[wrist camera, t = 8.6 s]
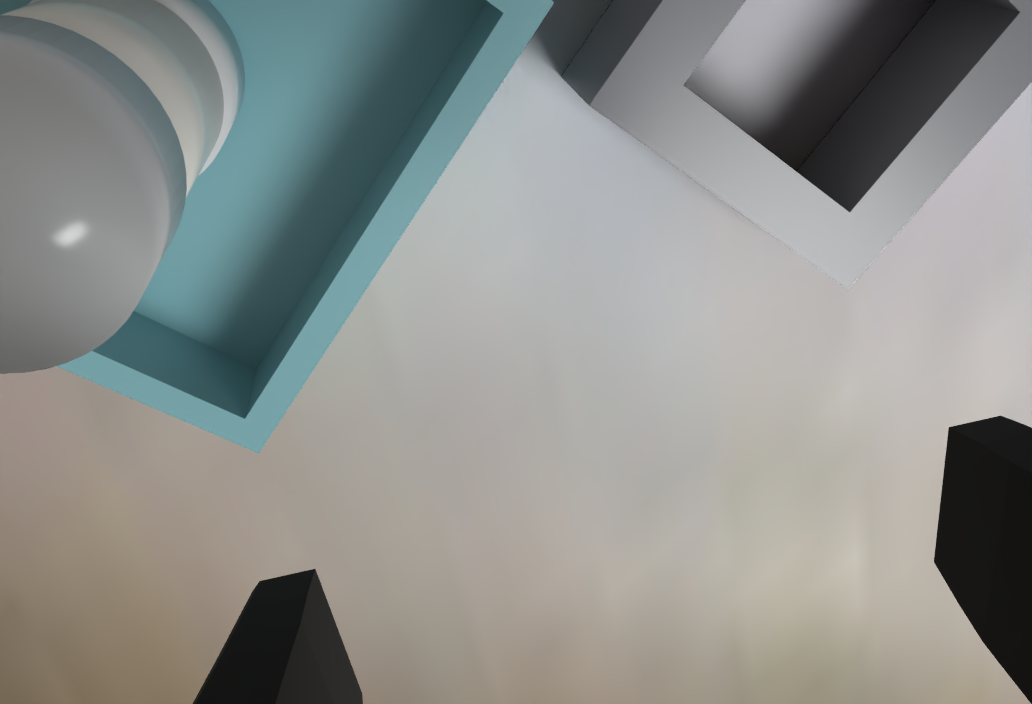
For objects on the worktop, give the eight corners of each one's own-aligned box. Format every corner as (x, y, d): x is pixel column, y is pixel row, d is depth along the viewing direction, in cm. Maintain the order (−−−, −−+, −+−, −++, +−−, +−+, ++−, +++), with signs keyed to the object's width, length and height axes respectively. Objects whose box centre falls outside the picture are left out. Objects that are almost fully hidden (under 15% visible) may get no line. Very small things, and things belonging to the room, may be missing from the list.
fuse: (90, -78, 14) (-167, -34, 7) (278, 41, 16) (210, 173, 9) (12, 97, 15) (-276, 278, 8) (194, 195, 17) (73, 420, 10)
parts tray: (-44, -448, 12) (-131, -516, 10) (528, -15, 16) (554, 2, 14) (-249, 147, 16) (-347, 191, 13) (270, 389, 20) (259, 453, 17)
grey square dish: (789, -260, 15) (860, -284, 13) (1018, -22, 18) (1109, -8, 15) (560, 76, 17) (589, 104, 15) (795, 245, 20) (848, 290, 18)
